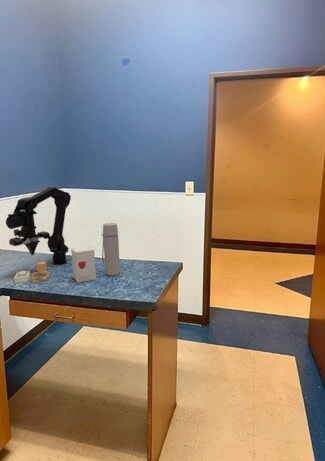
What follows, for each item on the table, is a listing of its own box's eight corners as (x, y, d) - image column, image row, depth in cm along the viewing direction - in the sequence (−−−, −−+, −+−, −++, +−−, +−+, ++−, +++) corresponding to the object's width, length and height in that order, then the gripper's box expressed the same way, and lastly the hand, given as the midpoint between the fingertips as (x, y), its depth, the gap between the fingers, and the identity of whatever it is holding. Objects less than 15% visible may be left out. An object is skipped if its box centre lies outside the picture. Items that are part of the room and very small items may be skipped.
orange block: (46, 270, 172) (45, 261, 171) (46, 273, 168) (45, 263, 167) (38, 271, 171) (37, 261, 170) (37, 273, 167) (36, 264, 166)
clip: (30, 275, 164) (29, 271, 164) (28, 281, 157) (27, 276, 156) (17, 277, 163) (16, 272, 162) (14, 282, 155) (14, 277, 155)
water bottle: (123, 272, 167) (120, 223, 161) (114, 277, 160) (111, 226, 154) (108, 269, 170) (105, 222, 165) (99, 274, 163) (95, 225, 158)
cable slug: (27, 277, 163) (26, 270, 162) (25, 280, 158) (25, 273, 157) (20, 278, 162) (19, 271, 161) (19, 281, 157) (18, 274, 157)
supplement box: (77, 283, 153) (74, 252, 150) (73, 277, 161) (70, 247, 158) (96, 279, 157) (94, 249, 154) (91, 274, 165) (89, 244, 162)
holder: (49, 275, 165) (49, 271, 164) (48, 280, 157) (47, 276, 157) (33, 276, 163) (32, 273, 162) (31, 282, 155) (30, 278, 155)
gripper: (37, 219, 174) (40, 248, 178) (1, 226, 161) (6, 257, 164) (48, 221, 167) (52, 251, 171) (12, 229, 154) (17, 261, 157)
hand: (32, 255), depth 166 cm, fingers closed
